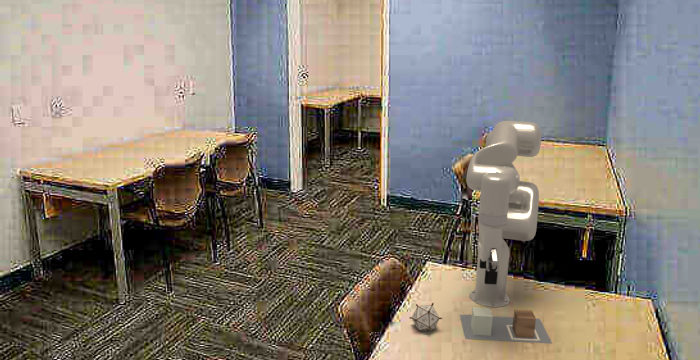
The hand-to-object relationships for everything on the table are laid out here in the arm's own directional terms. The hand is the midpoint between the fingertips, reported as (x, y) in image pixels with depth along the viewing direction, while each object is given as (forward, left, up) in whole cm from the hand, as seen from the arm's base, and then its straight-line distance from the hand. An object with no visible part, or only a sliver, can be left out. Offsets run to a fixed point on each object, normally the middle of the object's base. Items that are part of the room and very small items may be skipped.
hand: (487, 275), depth 161 cm
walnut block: (-1, +12, -18) cm, 21 cm away
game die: (-1, -16, -19) cm, 25 cm away
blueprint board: (-3, +7, -19) cm, 20 cm away
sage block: (-1, 0, -18) cm, 18 cm away
